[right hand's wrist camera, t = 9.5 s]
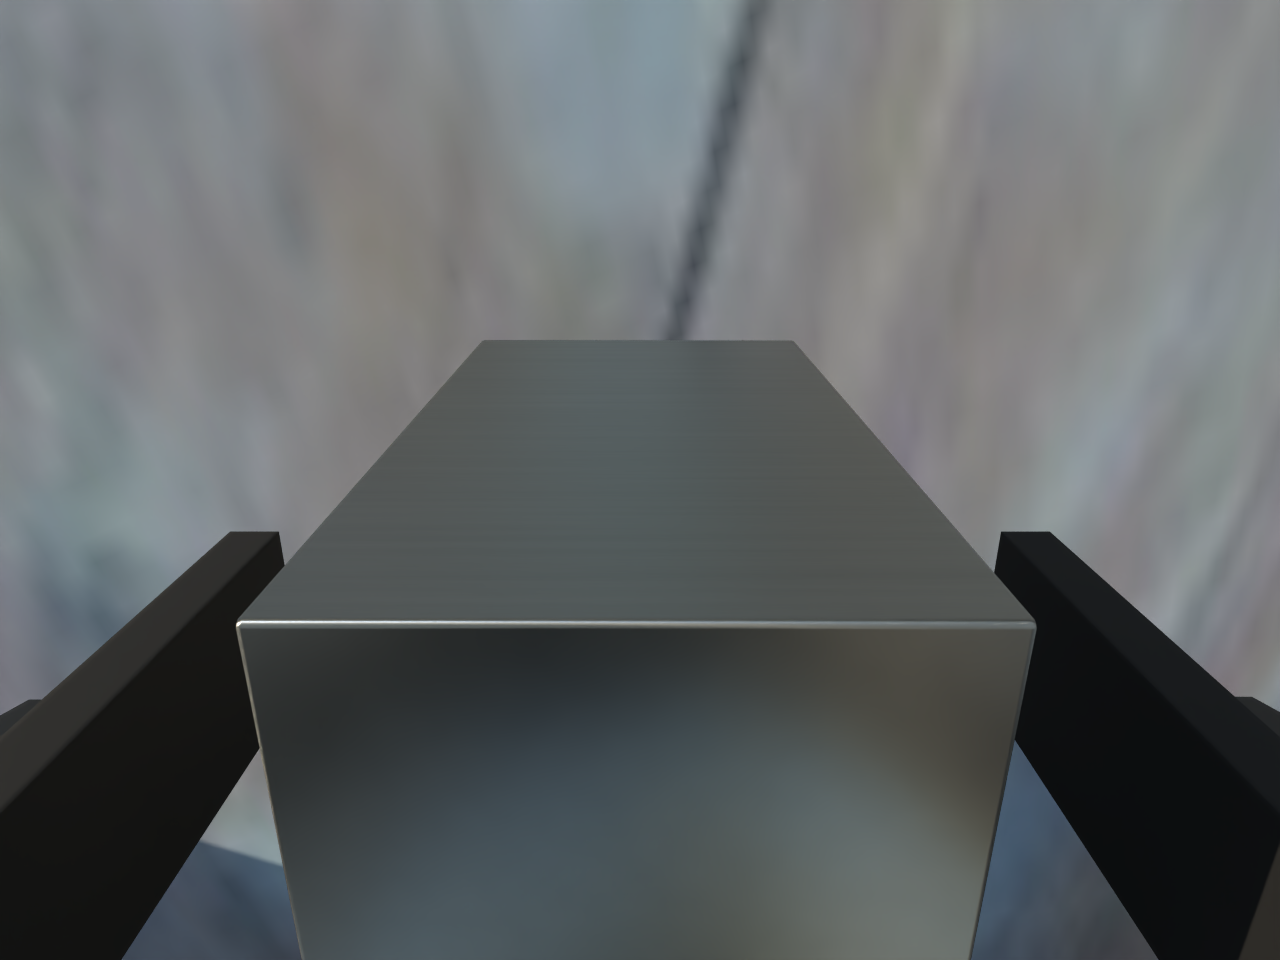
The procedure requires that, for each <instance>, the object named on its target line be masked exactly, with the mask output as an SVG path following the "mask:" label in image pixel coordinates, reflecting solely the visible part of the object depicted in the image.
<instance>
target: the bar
mask: <svg viewBox="0 0 1280 960" xmlns="http://www.w3.org/2000/svg"><path fill="white" fill-rule="evenodd" d="M1036 629H1037V628H1036V622H1035V620H1034V618H1033V617H1032V616H1031V615H1030V614H1029V613H1028V612H1027V610H1026V609H1025V608H1024V607H1023V606H1022V605H1021V603H1020V602H1019V601H1018V600H1017V599H1016V598H1015V597H1014V595H1013V594H1012V593H1011V592H1010V591H1009V590H1008V588H1007V587H1006V586H1005V585H1004V584H1003V583H1002V581H1001V580H1000V579H999V578H998V577H997V576H996V575H995V573H994V572H993V571H992V570H991V569H990V568H989V566H988V565H987V564H986V563H985V562H984V561H983V560H982V558H981V557H980V556H979V555H978V554H977V553H976V551H975V550H974V549H973V548H972V547H971V546H970V545H969V543H968V542H967V541H966V540H965V539H964V538H963V536H962V535H961V534H960V533H959V532H958V531H957V529H956V528H955V527H954V526H953V525H952V524H951V523H950V521H949V520H948V519H947V518H946V517H945V516H944V514H943V513H942V512H941V511H940V510H939V509H938V508H937V506H936V505H935V504H934V503H933V502H932V501H931V499H930V498H929V497H928V496H927V495H926V494H925V492H924V491H923V490H922V489H921V488H920V487H919V486H918V484H917V483H916V482H915V481H914V480H913V479H912V477H911V476H910V475H909V474H908V473H907V472H906V471H905V469H904V468H903V467H902V466H901V465H900V464H899V462H898V461H897V460H896V459H895V458H894V457H893V455H892V454H891V453H890V452H889V451H888V450H887V449H886V447H885V446H884V445H883V444H882V443H881V442H880V440H879V439H878V438H877V437H876V436H875V435H874V434H873V432H872V431H871V430H870V429H869V428H868V427H867V425H866V424H865V423H864V422H863V421H862V420H861V418H860V417H859V416H858V415H857V414H856V413H855V412H854V410H853V409H852V408H851V407H850V406H849V405H848V403H847V402H846V401H845V400H844V399H843V398H842V397H841V395H840V394H839V393H838V392H837V391H836V390H835V388H834V387H833V386H832V385H831V384H830V383H829V381H828V380H827V379H826V378H825V377H824V376H823V375H822V373H821V372H820V371H819V370H818V369H817V368H816V366H815V365H814V364H813V363H812V362H811V361H810V360H809V358H808V357H807V356H806V355H805V354H804V353H803V351H802V350H801V349H800V348H799V347H798V346H797V345H796V343H795V342H794V341H661V340H484V341H482V342H481V343H480V344H479V345H478V347H477V348H476V349H475V350H474V351H473V352H472V353H471V355H470V356H469V357H468V358H467V359H466V360H465V361H464V362H463V364H462V365H461V366H460V367H459V368H458V369H457V370H456V372H455V373H454V374H453V375H452V376H451V377H450V378H449V380H448V381H447V382H446V383H445V384H444V385H443V386H442V387H441V389H440V390H439V391H438V392H437V393H436V394H435V395H434V397H433V398H432V399H431V400H430V401H429V402H428V403H427V405H426V406H425V407H424V408H423V409H422V410H421V411H420V413H419V414H418V415H417V416H416V417H415V418H414V419H413V420H412V422H411V423H410V424H409V425H408V426H407V427H406V428H405V430H404V431H403V432H402V433H401V434H400V435H399V436H398V438H397V439H396V440H395V441H394V442H393V443H392V444H391V445H390V447H389V448H388V449H387V450H386V451H385V452H384V453H383V455H382V456H381V457H380V458H379V459H378V460H377V461H376V463H375V464H374V465H373V466H372V467H371V468H370V469H369V470H368V472H367V473H366V474H365V475H364V476H363V477H362V478H361V480H360V481H359V482H358V483H357V484H356V485H355V486H354V488H353V489H352V490H351V491H350V492H349V493H348V494H347V496H346V497H345V498H344V499H343V500H342V501H341V502H340V503H339V505H338V506H337V507H336V508H335V509H334V510H333V511H332V513H331V514H330V515H329V516H328V517H327V518H326V519H325V521H324V522H323V523H322V524H321V525H320V526H319V527H318V528H317V530H316V531H315V532H314V533H313V534H312V535H311V536H310V538H309V539H308V540H307V541H306V542H305V543H304V544H303V546H302V547H301V548H300V549H299V550H298V551H297V552H296V554H295V555H294V556H293V557H292V558H291V559H290V560H289V561H288V563H287V564H286V565H285V566H284V567H283V568H282V569H281V571H280V572H279V573H278V574H277V575H276V576H275V577H274V579H273V580H272V581H271V582H270V583H269V584H268V585H267V586H266V588H265V589H264V590H263V591H262V592H261V593H260V594H259V596H258V597H257V598H256V599H255V600H254V601H253V602H252V604H251V605H250V606H249V607H248V608H247V609H246V610H245V611H244V613H243V614H242V615H241V616H240V617H239V618H238V620H237V623H236V631H237V636H238V641H239V646H240V651H241V656H242V661H243V666H244V671H245V676H246V681H247V686H248V691H249V697H250V702H251V707H252V712H253V717H254V722H255V727H256V732H257V737H258V742H259V747H260V752H261V757H262V762H263V767H264V772H265V777H266V782H267V787H268V792H269V797H270V802H271V807H272V812H273V817H274V823H275V828H276V833H277V838H278V843H279V848H280V853H281V858H282V863H283V868H284V873H285V878H286V883H287V888H288V893H289V898H290V903H291V908H292V913H293V918H294V923H295V928H296V933H297V938H298V943H299V949H300V954H301V959H302V960H971V956H972V951H973V946H974V941H975V936H976V931H977V926H978V921H979V916H980V911H981V906H982V901H983V896H984V891H985V886H986V881H987V876H988V871H989V866H990V861H991V856H992V851H993V846H994V841H995V836H996V831H997V826H998V820H999V815H1000V810H1001V805H1002V800H1003V795H1004V790H1005V785H1006V780H1007V775H1008V770H1009V765H1010V760H1011V755H1012V750H1013V745H1014V740H1015V735H1016V730H1017V725H1018V720H1019V715H1020V710H1021V705H1022V700H1023V695H1024V690H1025V684H1026V679H1027V674H1028V669H1029V664H1030V659H1031V654H1032V649H1033V644H1034V639H1035V634H1036Z"/></svg>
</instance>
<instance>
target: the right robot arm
mask: <svg viewBox="0 0 1280 960" xmlns="http://www.w3.org/2000/svg"><path fill="white" fill-rule="evenodd" d="M284 566H285V565H284V559H283V554H282V548H281V542H280V536H279V532H229V533H228V534H227V535H226V536H225V537H224V538H223V539H221V540H220V541H219V542H218V543H217V544H216V545H215V546H214V547H213V548H211V549H210V550H209V551H208V552H207V553H206V554H205V555H204V556H202V557H201V558H200V559H199V560H198V561H197V562H196V563H195V564H193V565H192V566H191V567H190V568H189V569H188V570H187V571H186V572H184V573H183V574H182V575H181V576H180V577H179V578H178V579H177V580H176V581H174V582H173V583H172V584H171V585H170V586H169V587H168V588H167V589H165V590H164V591H163V592H162V593H161V594H160V595H159V596H158V597H156V598H155V599H154V600H153V601H152V602H151V603H150V604H149V605H147V606H146V607H145V608H144V609H143V610H142V611H141V612H140V613H139V614H137V615H136V616H135V617H134V618H133V619H132V620H131V621H130V622H128V623H127V624H126V625H125V626H124V627H123V628H122V629H121V630H119V631H118V632H117V633H116V634H115V635H114V636H113V637H112V638H111V639H109V640H108V641H107V642H106V643H105V644H104V645H103V646H102V647H100V648H99V649H98V650H97V651H96V652H95V653H94V654H93V655H91V656H90V657H89V658H88V659H87V660H86V661H85V662H84V663H82V664H81V665H80V666H79V667H78V668H77V669H76V670H75V671H74V672H72V673H71V674H70V675H69V676H68V677H67V678H66V679H65V680H63V681H62V682H61V683H60V684H59V685H58V686H57V687H56V688H54V689H53V690H52V691H51V692H50V693H49V694H48V695H47V696H45V697H44V698H43V699H42V700H28V701H26V702H24V703H22V704H20V705H18V706H17V707H15V708H13V709H11V710H9V711H8V712H6V713H4V714H2V715H0V960H121V959H122V958H123V956H124V955H125V953H126V952H127V950H128V949H129V947H130V945H131V944H132V942H133V941H134V939H135V938H136V936H137V935H138V933H139V932H140V930H141V929H142V927H143V926H144V924H145V923H146V921H147V919H148V918H149V916H150V915H151V913H152V912H153V910H154V909H155V907H156V906H157V904H158V903H159V901H160V900H161V898H162V897H163V895H164V893H165V892H166V890H167V889H168V887H169V886H170V884H171V883H172V881H173V880H174V878H175V877H176V875H177V874H178V872H179V871H180V869H181V867H182V866H183V864H184V863H185V861H186V860H187V858H188V857H189V855H190V854H191V852H192V851H193V849H194V848H195V846H196V845H197V843H198V841H199V840H200V838H201V837H202V835H203V834H204V832H205V831H206V829H207V828H208V826H209V825H210V823H211V822H212V820H213V819H214V817H215V815H216V814H217V812H218V811H219V809H220V808H221V806H222V805H223V803H224V802H225V800H226V799H227V797H228V796H229V794H230V793H231V791H232V789H233V788H234V786H235V785H236V783H237V782H238V780H239V779H240V777H241V776H242V774H243V773H244V771H245V770H246V768H247V766H248V765H249V763H250V762H251V760H252V759H253V757H254V756H255V754H256V753H257V751H258V750H259V748H260V747H259V742H258V737H257V732H256V727H255V722H254V717H253V712H252V707H251V702H250V697H249V691H248V686H247V681H246V676H245V671H244V666H243V661H242V656H241V651H240V646H239V641H238V636H237V631H236V623H237V620H238V618H239V617H240V616H241V615H242V614H243V613H244V611H245V610H246V609H247V608H248V607H249V606H250V605H251V604H252V602H253V601H254V600H255V599H256V598H257V597H258V596H259V594H260V593H261V592H262V591H263V590H264V589H265V588H266V586H267V585H268V584H269V583H270V582H271V581H272V580H273V579H274V577H275V576H276V575H277V574H278V573H279V572H280V571H281V569H282V568H283V567H284ZM994 573H995V575H996V576H997V577H998V578H999V579H1000V580H1001V581H1002V583H1003V584H1004V585H1005V586H1006V587H1007V588H1008V590H1009V591H1010V592H1011V593H1012V594H1013V595H1014V597H1015V598H1016V599H1017V600H1018V601H1019V602H1020V603H1021V605H1022V606H1023V607H1024V608H1025V609H1026V610H1027V612H1028V613H1029V614H1030V615H1031V616H1032V617H1033V618H1034V620H1035V622H1036V628H1037V629H1036V634H1035V639H1034V644H1033V649H1032V654H1031V659H1030V664H1029V669H1028V674H1027V679H1026V684H1025V690H1024V695H1023V700H1022V705H1021V710H1020V715H1019V720H1018V725H1017V730H1016V735H1015V741H1016V742H1017V744H1018V745H1019V747H1020V748H1021V750H1022V751H1023V753H1024V754H1025V756H1026V757H1027V759H1028V760H1029V762H1030V763H1031V765H1032V767H1033V768H1034V770H1035V771H1036V773H1037V774H1038V776H1039V777H1040V779H1041V780H1042V782H1043V783H1044V785H1045V786H1046V788H1047V789H1048V791H1049V793H1050V794H1051V796H1052V797H1053V799H1054V800H1055V802H1056V803H1057V805H1058V806H1059V808H1060V809H1061V811H1062V812H1063V814H1064V815H1065V817H1066V819H1067V820H1068V822H1069V823H1070V825H1071V826H1072V828H1073V829H1074V831H1075V832H1076V834H1077V835H1078V837H1079V838H1080V840H1081V841H1082V843H1083V845H1084V846H1085V848H1086V849H1087V851H1088V852H1089V854H1090V855H1091V857H1092V858H1093V860H1094V861H1095V863H1096V864H1097V866H1098V867H1099V869H1100V871H1101V872H1102V874H1103V875H1104V877H1105V878H1106V880H1107V881H1108V883H1109V884H1110V886H1111V887H1112V889H1113V890H1114V892H1115V893H1116V895H1117V897H1118V898H1119V900H1120V901H1121V903H1122V904H1123V906H1124V907H1125V909H1126V910H1127V912H1128V913H1129V915H1130V916H1131V918H1132V919H1133V921H1134V923H1135V924H1136V926H1137V927H1138V929H1139V930H1140V932H1141V933H1142V935H1143V936H1144V938H1145V939H1146V941H1147V942H1148V944H1149V945H1150V947H1151V949H1152V950H1153V952H1154V953H1155V955H1156V956H1157V958H1158V959H1159V960H1280V712H1279V711H1277V710H1275V709H1273V708H1271V707H1269V706H1268V705H1266V704H1264V703H1262V702H1260V701H1258V700H1257V699H1255V698H1253V697H1234V696H1233V695H1232V694H1231V693H1230V692H1229V691H1228V690H1227V689H1226V688H1224V687H1223V686H1222V685H1221V684H1220V683H1219V682H1218V681H1217V680H1215V679H1214V678H1213V677H1212V676H1211V675H1210V674H1209V673H1208V672H1206V671H1205V670H1204V669H1203V668H1202V667H1201V666H1200V665H1199V664H1197V663H1196V662H1195V661H1194V660H1193V659H1192V658H1191V657H1190V656H1189V655H1187V654H1186V653H1185V652H1184V651H1183V650H1182V649H1181V648H1180V647H1178V646H1177V645H1176V644H1175V643H1174V642H1173V641H1172V640H1171V639H1169V638H1168V637H1167V636H1166V635H1165V634H1164V633H1163V632H1162V631H1161V630H1159V629H1158V628H1157V627H1156V626H1155V625H1154V624H1153V623H1152V622H1150V621H1149V620H1148V619H1147V618H1146V617H1145V616H1144V615H1143V614H1141V613H1140V612H1139V611H1138V610H1137V609H1136V608H1135V607H1134V606H1132V605H1131V604H1130V603H1129V602H1128V601H1127V600H1126V599H1125V598H1124V597H1122V596H1121V595H1120V594H1119V593H1118V592H1117V591H1116V590H1115V589H1113V588H1112V587H1111V586H1110V585H1109V584H1108V583H1107V582H1106V581H1104V580H1103V579H1102V578H1101V577H1100V576H1099V575H1098V574H1097V573H1095V572H1094V571H1093V570H1092V569H1091V568H1090V567H1089V566H1088V565H1087V564H1085V563H1084V562H1083V561H1082V560H1081V559H1080V558H1079V557H1078V556H1076V555H1075V554H1074V553H1073V552H1072V551H1071V550H1070V549H1069V548H1067V547H1066V546H1065V545H1064V544H1063V543H1062V542H1061V541H1060V540H1059V539H1057V538H1056V537H1055V536H1054V535H1053V534H1052V533H1051V532H1001V536H1000V542H999V548H998V553H997V559H996V565H995V571H994Z"/></svg>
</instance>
